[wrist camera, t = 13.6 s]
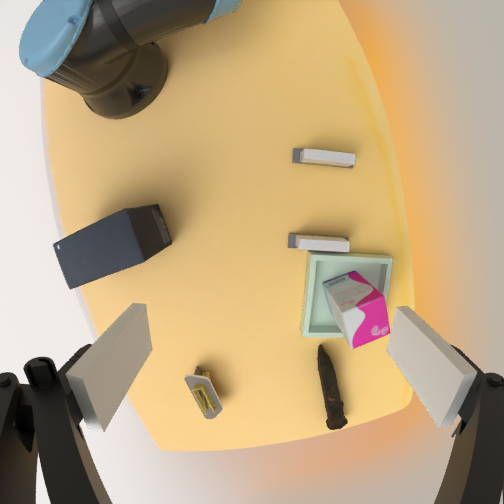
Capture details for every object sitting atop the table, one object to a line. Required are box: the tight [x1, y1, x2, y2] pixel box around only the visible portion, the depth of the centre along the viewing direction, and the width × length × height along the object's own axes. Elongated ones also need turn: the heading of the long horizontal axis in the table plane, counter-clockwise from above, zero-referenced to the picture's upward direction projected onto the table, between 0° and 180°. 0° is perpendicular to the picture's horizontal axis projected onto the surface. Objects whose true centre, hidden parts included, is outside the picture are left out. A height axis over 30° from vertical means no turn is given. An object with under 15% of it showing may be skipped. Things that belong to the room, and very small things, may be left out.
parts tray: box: [300, 251, 393, 337], centre depth 43 cm, size 13×13×3 cm
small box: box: [53, 204, 172, 289], centre depth 38 cm, size 13×7×12 cm, turn 109°
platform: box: [185, 366, 223, 419], centre depth 45 cm, size 12×18×7 cm, turn 17°
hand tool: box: [317, 345, 348, 430], centre depth 46 cm, size 19×4×5 cm, turn 14°
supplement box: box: [322, 271, 390, 349], centre depth 38 cm, size 6×6×12 cm
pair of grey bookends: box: [288, 148, 355, 252], centre depth 39 cm, size 14×9×5 cm, turn 177°
